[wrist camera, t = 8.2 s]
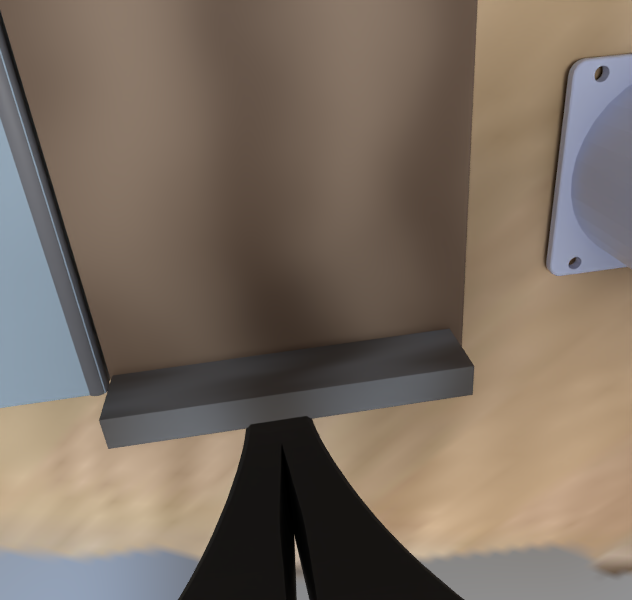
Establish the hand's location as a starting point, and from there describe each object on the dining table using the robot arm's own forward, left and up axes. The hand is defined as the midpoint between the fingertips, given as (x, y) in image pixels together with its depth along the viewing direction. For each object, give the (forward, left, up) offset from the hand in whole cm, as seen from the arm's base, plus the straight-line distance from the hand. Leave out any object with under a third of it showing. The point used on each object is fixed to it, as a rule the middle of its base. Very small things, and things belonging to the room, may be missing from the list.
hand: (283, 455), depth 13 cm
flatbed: (-1, -6, -10) cm, 12 cm away
